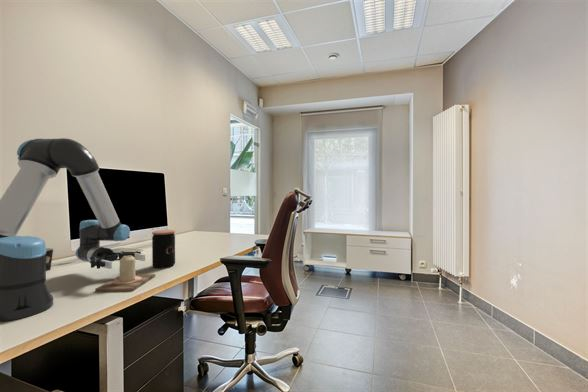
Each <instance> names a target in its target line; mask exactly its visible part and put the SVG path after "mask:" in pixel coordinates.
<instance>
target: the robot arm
mask: <svg viewBox="0 0 588 392" xmlns="http://www.w3.org/2000/svg"><path fill="white" fill-rule="evenodd" d="M16 155H17V160H18V161H17V165H18V167H19V169H18V171H17V173H16V175H15V176H14V177H13V179H12V180H11V183H10V184H9V185H8V187H7V188H6V190H5V192H4V193H3V194H2V196H1V198H0V322H6V321H13V320H19V319H23V318H27V317H30V316H34V315H36V314H37V315H38V314H40V313H42V312H44V311H46V310H48V309H50V308H51V307H53V306H54V297H53V295H52V294H51V291H50V288H49V286H48V284H47V271H46V242H45V240H44V239H43V238H40V237H37V236H32V235H31V236H29V235H24V236H22V235H18V233H19V231H20V230H21V228H22V226H23V225H24V222H25V220H26V219H27V218H28V216H29V213H30V212H31V210H32V209H33V207H34V205H35V203H36V201H37V200H38V198H39V197H40V195H41V193H42V191H43V189H44V188H45V186H46V184H47V183H48V181H49V179H53V178H56V177H57V175H58V173H59V172H60V170H61V169H66V170H68V171H69V172H70V175H71V177H75V178H76V180H77V182H78V184H79V186H80V188H81V190H82V193H83V194H84V196H85V198H86V200H87V202H88V205H89V206H90V208H91V210H92V212H93V214H94V216H95V218H96V219H87V220H86V219H85V220H82V221H80V223H79V229H78V230H79V246H78V247H77V249H76V251H75V256H76V258H77V259H78V260H81V261H82V262H85V263H86V262H89V264H90V269H93V268H96V269H98V270H99V269H101V268H104V269H109V270H111V269H113V264H112V263H113V262H115V261H116V262H117V261H119V262H120V259H121V258H123V256H128V255H132V256H133V257H134V258H135V261H136V260H137V261H141V262H146V254H143V253H142V252H141V251H138V250H137V251H119V252H118V251H117V252H116V251H113V249H111V248H108V247H103V246H100V244H101V243H100V242H101V241H103V242H107V241H109V242H112V241H113V242H123V241H126V240H128V238H129V237H130V234H131V229H130V227H129V226H128V225H127V224H122V223H121V221H120V218H119V217H118V214H117V212H116V210H115V208H114V205H113V202H112V201H111V199H110V196H109V194H108V191H107V189H106V188H105V185H104V183H103V180H102V178H101V176H100V173H99V170H100V167H99V164H98V162H97V160H96V159H95V157H94V156H93V154H92V153H91V152H90V151H89V150H88V149H87V148H86V147H85V146H84V145H82V143H80V142H78V141H76V140H74V139H71V138H66V137H65V138H63V137H61V138H34V139H28V140H25V141H24V142H22V143H21V144H20V145H19V146H18V148H17V151H16Z"/></svg>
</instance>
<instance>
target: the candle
mask: <svg viewBox="0 0 588 392" xmlns="http://www.w3.org/2000/svg"><path fill="white" fill-rule="evenodd" d="M135 274H136V260H135V258H134V257H133V256H132V255H128V256H123V258H121V259H120V260H119V276H120V281H121V282H127V281H132V280H134V279H135Z"/></svg>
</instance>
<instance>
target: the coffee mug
mask: <svg viewBox="0 0 588 392" xmlns="http://www.w3.org/2000/svg"><path fill="white" fill-rule="evenodd" d="M53 252H54V248H51V247H50V248H49V247H47V248H46V272H49V271H50V270H51V268H52V260H53V256H54V255H53Z"/></svg>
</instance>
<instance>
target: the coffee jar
mask: <svg viewBox="0 0 588 392" xmlns="http://www.w3.org/2000/svg"><path fill="white" fill-rule="evenodd" d="M175 232H176V230H174V229H159V230H153V231H152V233H151V234H152V237H151V240H152V241H151V246H152V247H151V250H152V251H151V252H152V253H151V254H152V255H151V256H152V257H151V258H152V259H151V260H152V266H153V268H155V269H168V268H171V267H174V265H175V264H176V235H175Z"/></svg>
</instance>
